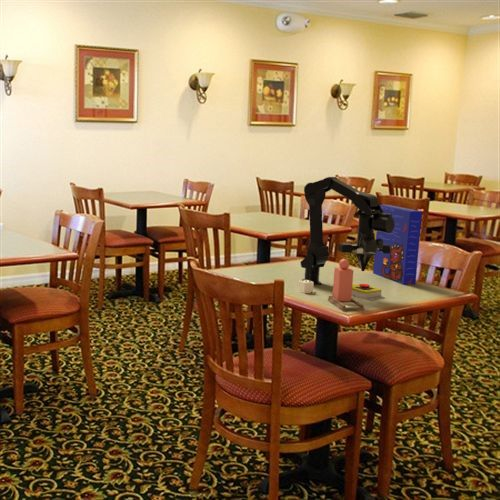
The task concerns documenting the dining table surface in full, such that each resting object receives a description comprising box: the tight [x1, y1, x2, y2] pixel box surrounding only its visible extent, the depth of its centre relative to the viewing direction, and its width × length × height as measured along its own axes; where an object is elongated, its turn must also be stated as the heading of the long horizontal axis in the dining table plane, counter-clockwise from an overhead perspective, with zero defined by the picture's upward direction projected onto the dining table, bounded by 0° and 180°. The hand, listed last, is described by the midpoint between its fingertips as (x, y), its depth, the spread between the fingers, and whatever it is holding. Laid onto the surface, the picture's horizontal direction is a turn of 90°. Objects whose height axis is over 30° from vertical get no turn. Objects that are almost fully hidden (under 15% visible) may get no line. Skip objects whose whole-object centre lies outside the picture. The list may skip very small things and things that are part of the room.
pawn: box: [331, 258, 354, 301], centre depth 234 cm, size 5×5×15 cm
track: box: [327, 295, 365, 312], centre depth 232 cm, size 14×8×2 cm, turn 15°
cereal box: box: [372, 204, 423, 286], centre depth 278 cm, size 22×6×30 cm, turn 23°
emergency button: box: [351, 283, 385, 301], centre depth 250 cm, size 9×4×15 cm
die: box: [297, 279, 315, 294], centre depth 249 cm, size 4×4×4 cm
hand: (362, 271), depth 247 cm, fingers closed
